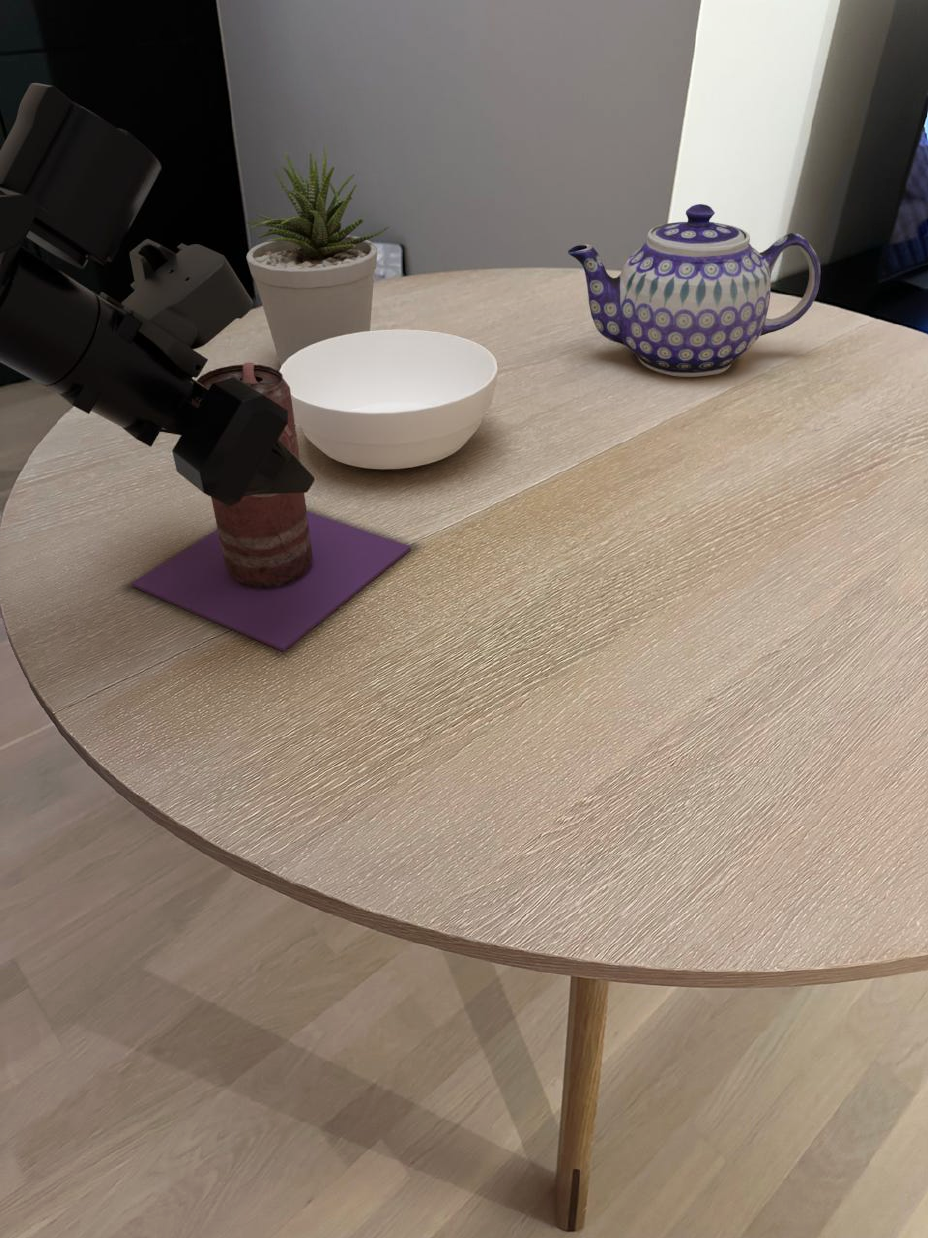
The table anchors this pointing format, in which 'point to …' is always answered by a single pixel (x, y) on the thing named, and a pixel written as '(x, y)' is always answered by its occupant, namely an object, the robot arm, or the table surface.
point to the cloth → (281, 611)
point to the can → (264, 503)
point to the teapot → (692, 294)
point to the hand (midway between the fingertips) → (273, 459)
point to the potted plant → (313, 268)
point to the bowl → (390, 395)
